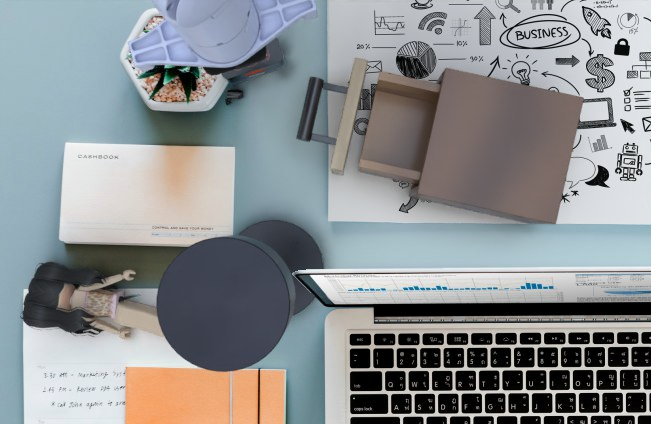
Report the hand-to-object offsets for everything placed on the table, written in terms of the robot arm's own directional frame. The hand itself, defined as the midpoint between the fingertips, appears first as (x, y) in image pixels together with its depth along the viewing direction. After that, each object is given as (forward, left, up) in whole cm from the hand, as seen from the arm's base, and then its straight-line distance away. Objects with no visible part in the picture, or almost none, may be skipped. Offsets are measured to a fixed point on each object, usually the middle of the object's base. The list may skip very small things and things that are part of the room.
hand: (241, 56), depth 58 cm
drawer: (+3, +14, -8) cm, 16 cm away
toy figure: (+26, -10, -9) cm, 29 cm away
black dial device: (0, -1, -9) cm, 9 cm away
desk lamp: (+19, +6, -9) cm, 22 cm away
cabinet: (+3, +24, -8) cm, 26 cm away
